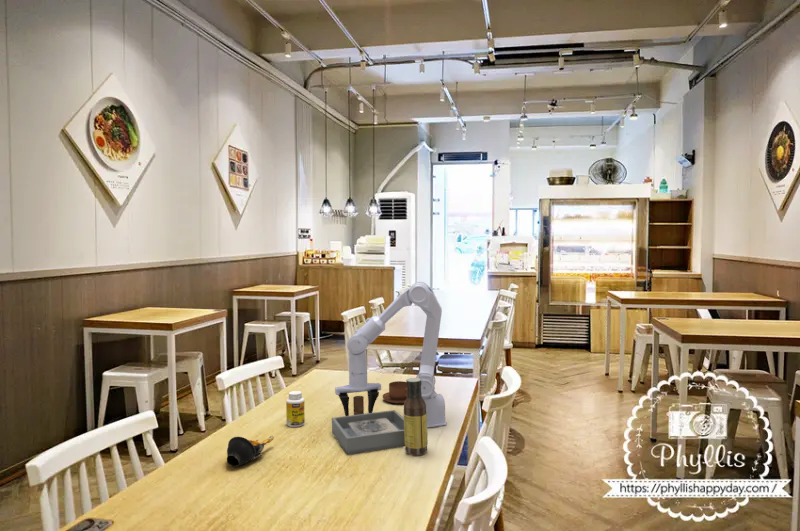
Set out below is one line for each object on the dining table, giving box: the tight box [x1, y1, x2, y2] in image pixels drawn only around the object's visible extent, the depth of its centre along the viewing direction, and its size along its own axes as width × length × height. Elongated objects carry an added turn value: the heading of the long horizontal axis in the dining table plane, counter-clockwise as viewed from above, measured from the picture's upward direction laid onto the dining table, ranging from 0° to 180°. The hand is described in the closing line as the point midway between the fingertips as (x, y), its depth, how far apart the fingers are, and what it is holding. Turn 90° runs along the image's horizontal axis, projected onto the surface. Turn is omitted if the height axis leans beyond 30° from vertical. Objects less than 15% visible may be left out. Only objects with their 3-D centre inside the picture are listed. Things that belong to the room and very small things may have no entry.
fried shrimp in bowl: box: [226, 435, 275, 468], centre depth 141 cm, size 8×10×16 cm
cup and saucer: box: [382, 380, 408, 404], centre depth 191 cm, size 12×12×6 cm
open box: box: [331, 409, 405, 456], centre depth 154 cm, size 20×18×4 cm
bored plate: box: [347, 418, 398, 437], centre depth 154 cm, size 12×12×2 cm
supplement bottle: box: [285, 390, 306, 428], centre depth 166 cm, size 6×6×10 cm
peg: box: [352, 395, 365, 415], centre depth 168 cm, size 3×3×8 cm
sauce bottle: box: [403, 377, 429, 457], centre depth 144 cm, size 6×6×20 cm
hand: (358, 414), depth 168 cm, fingers open, 7 cm apart
